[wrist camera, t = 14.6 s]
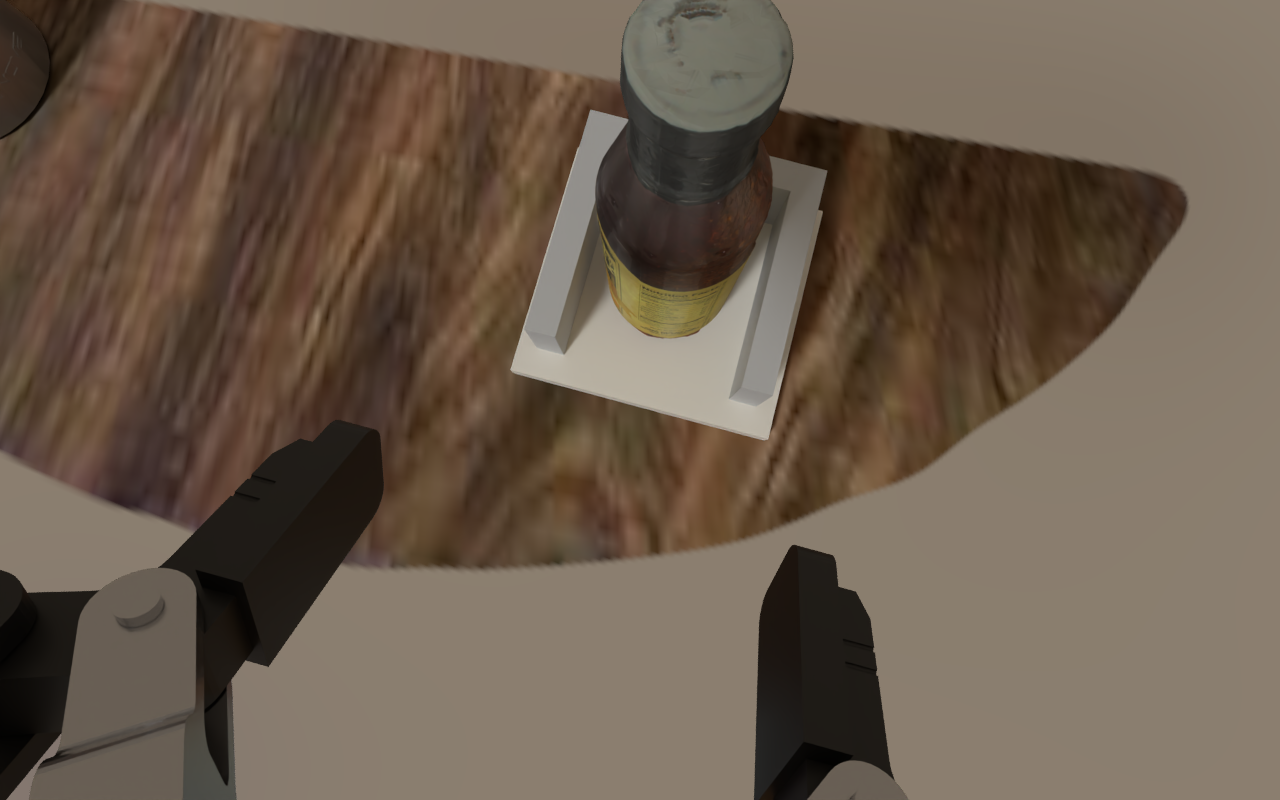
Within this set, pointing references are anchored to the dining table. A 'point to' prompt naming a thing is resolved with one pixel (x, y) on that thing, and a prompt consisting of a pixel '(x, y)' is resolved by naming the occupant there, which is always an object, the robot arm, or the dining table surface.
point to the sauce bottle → (690, 157)
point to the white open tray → (686, 366)
